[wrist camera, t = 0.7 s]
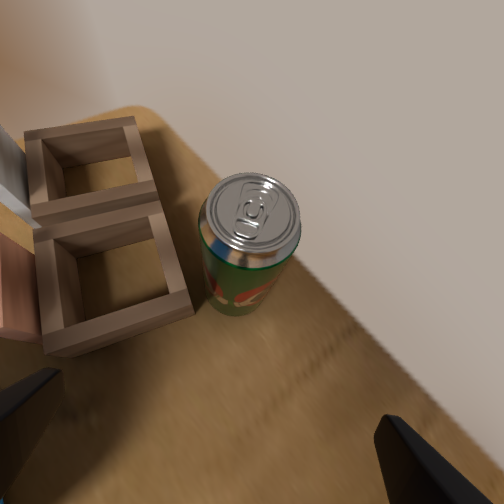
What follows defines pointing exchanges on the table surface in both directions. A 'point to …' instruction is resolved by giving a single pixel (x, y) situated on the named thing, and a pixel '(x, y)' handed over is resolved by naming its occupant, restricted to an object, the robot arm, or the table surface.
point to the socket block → (78, 238)
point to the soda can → (246, 240)
